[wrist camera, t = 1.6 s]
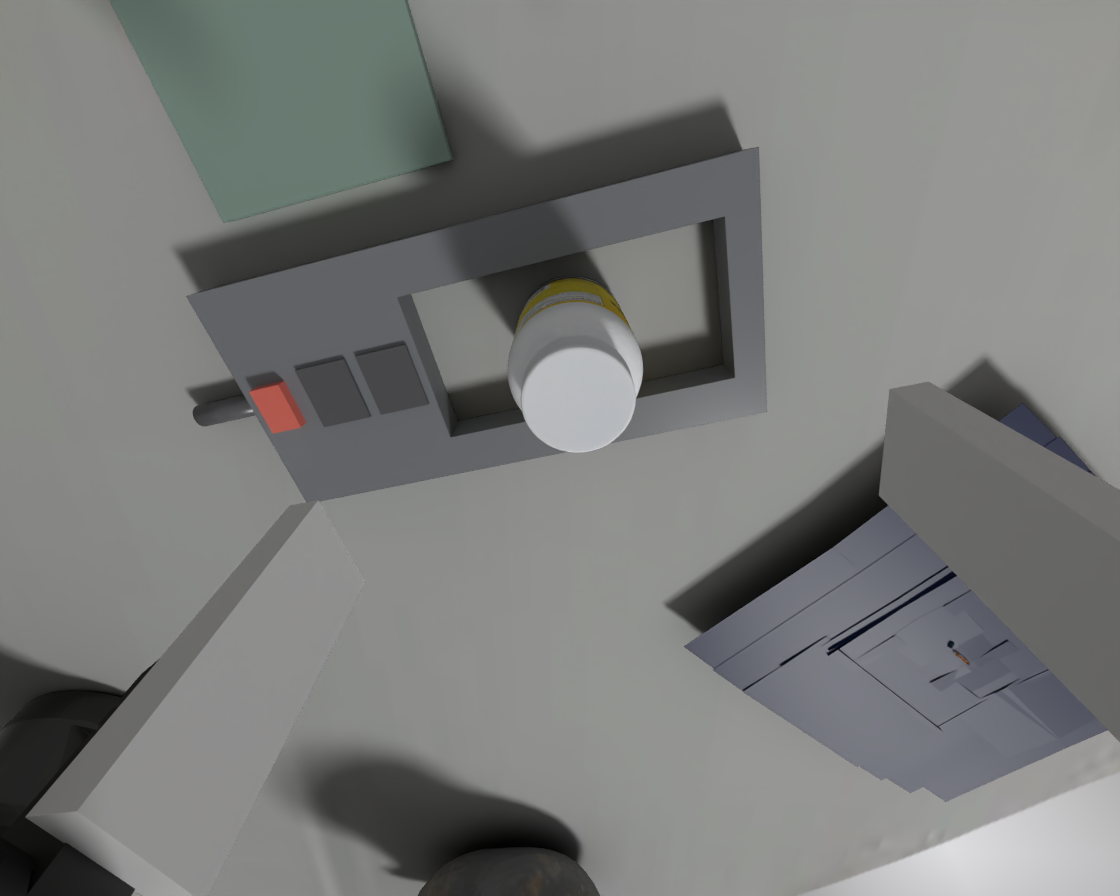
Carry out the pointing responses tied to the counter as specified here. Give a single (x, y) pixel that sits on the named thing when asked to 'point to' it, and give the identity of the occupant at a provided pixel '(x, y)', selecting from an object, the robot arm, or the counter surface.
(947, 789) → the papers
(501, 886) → the vessel
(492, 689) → the counter surface
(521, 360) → the supplement bottle
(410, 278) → the rectangular frame
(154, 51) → the rubber mat
